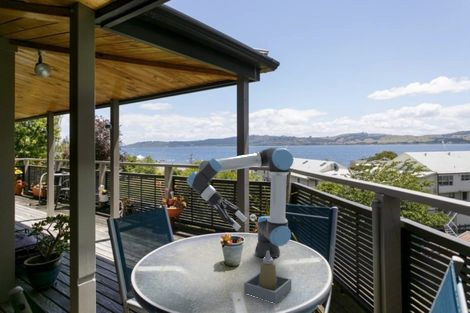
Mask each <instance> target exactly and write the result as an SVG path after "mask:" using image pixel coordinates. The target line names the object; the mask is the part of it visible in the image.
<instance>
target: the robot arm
mask: <svg viewBox="0 0 470 313" xmlns="http://www.w3.org/2000/svg"><path fill="white" fill-rule="evenodd" d="M293 163H294V156H293V153H292V152H291V151H290V149H287V148H285V147H269V148H266V149H262V150H257V151H255V152H253V153H250V154H243V155H236V156H231V157H223V158H219V159H218V158H216V157H212V158H211V159H210V160H203V161H200V163H199V164H198V172H197V171H193V172H191V173H190V174H189V175H188V177H187V178H186V183H187V184H188V186H189V187H190V188H191V189H193V190H194V191H195V192H196V193H197V194H198V195H199V196H200V197H201V198H202V199H203V200H205V201H206V202H207V203H208V204H209V205H210V206H211V207H212V208H213V209H214V210H215V212H216V213H217V215H218V216H219V217H220V219H221V220H222V222H223V223H225V224H226V223H228V224H229V225H230V226H231V227H232V228H233V229H234V230H235V231H236V232H238V231H239V230H240V228H241V225H240V224H239V223H238V222H237V221H235V220H234V218H232V217H230V215H229V212H228V211H230V212H232V213H234V215H235V216H236V217H237V218H238V219H240V220H241V222H243V223H244V222H246V221H247V219H248V217H247V216H245V215H244V213H242V212H241V211H240V207H238V206H236V205H235V204H233V203H232V202H231V201H228V200H227V199H226V198H225V197H223V196H222V194H221V193H220V192H219V191H217V190H216V189H215V187H214V186H212V185H211V184H210V182H211V181H212V180H213V179H214V178H215V177H216V176H217V175H218V174H219V173H223V172H229V171H235V170H240V169H248V168H254V167H257V168H263V167H264V168H267V167H268V173H269V174H270V199H269V200H270V201H269V202H270V204H269V205H270V208H269V215H263V216H259V217H258V218H257V242H256V246H255V250H254V255H255V254H256V255H257V256H256V255H255V256H256V257H258V256H260V257H259V258H261V257H265V256H266V251H269V252H270V257H275V256H278V255H279V254H280V255H281V250H280V247H283V246H285V245H287V243H289V242H290V240H291V237H292V233H291V230H290V228H289V226H288V225H289V221H288V219H287V218H286V209H287V208H286V207H287V206H286V205H287V204H286V203H287V176H288V174H290V169H291V167H292V166H293ZM222 197H223V198H222ZM227 210H228V211H227ZM278 257H279V256H278Z"/></svg>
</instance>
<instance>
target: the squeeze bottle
mask: <svg viewBox="0 0 470 313" xmlns="http://www.w3.org/2000/svg"><path fill="white" fill-rule="evenodd" d="M259 268H260V269H259V273H260V277H259V283H260V286H261V287H262V288H265V289H268V290H272V291H274V290H275V287H276V284H277V278H276V275H277V271H276V270H277V269H276V263H274V258H271V257H270V252H269V251H266V256H265V258H262V262H261V264H260V267H259Z"/></svg>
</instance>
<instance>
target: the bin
mask: <svg viewBox="0 0 470 313" xmlns="http://www.w3.org/2000/svg"><path fill="white" fill-rule="evenodd" d="M259 277H260V272H259V273H257V274H256V275H253V276H252V277H251V278H249V279H248V280H247V281H245V282H244V283H243V287H244V288H243V290H244V291H243V294H244V293H245V294H244V295H246V294H249V295H252V296H255V297H258V298H261V299H263V300H262V301H264V300H267V301H269V302H268V303H270V302H273V303H276V302H277V303H279V300H280V299H281V298H282V297H283V296H284V297H285V296H286V295H288V294H289V293H290V292H291V291H292V278H288V277H284V276H281V275H277V274H276V278H277V284H276V287H275V290H274V291H272V290H268V289H265V288H262V287H261V286H260V283H259ZM290 290H291V291H290ZM289 291H290V292H289ZM249 295H248V296H249ZM252 296H251V297H252ZM255 297H254V298H255ZM284 297H283V298H284ZM258 298H257V299H258ZM283 298H282V299H283ZM261 299H260V300H261ZM282 299H281V300H282ZM267 301H266V302H267ZM273 303H272V304H273ZM277 303H276V304H277Z"/></svg>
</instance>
